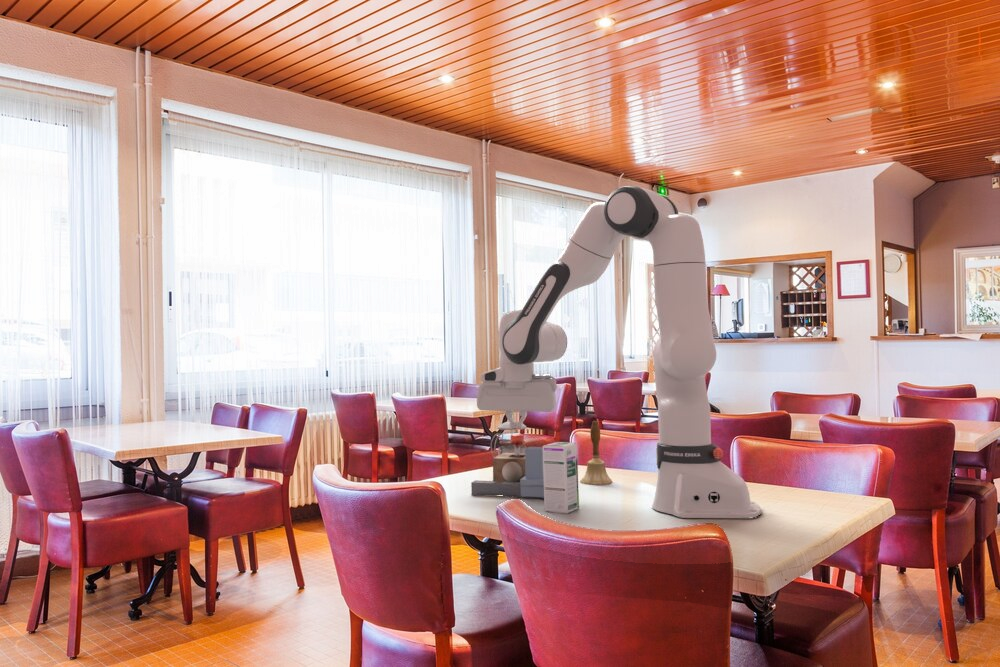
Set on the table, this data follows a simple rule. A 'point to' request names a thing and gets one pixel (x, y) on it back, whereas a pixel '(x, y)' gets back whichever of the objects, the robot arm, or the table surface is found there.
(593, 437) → the hand bell
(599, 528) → the table surface
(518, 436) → the red capped bottle
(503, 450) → the french press
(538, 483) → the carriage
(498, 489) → the rail
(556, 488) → the syrup box
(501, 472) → the brown wooden block
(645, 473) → the table surface
